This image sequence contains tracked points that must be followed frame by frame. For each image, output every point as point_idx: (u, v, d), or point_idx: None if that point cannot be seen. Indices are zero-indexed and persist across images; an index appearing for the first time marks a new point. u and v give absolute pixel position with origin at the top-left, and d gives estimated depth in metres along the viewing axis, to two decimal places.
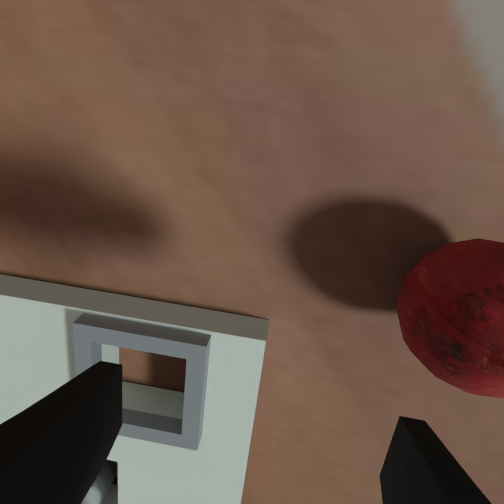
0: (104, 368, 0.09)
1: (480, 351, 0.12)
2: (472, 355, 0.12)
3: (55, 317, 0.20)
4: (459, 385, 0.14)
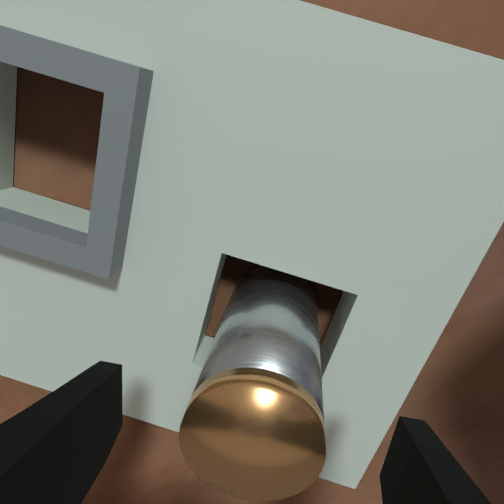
0: (104, 368, 0.09)
1: None
2: None
3: None
4: None
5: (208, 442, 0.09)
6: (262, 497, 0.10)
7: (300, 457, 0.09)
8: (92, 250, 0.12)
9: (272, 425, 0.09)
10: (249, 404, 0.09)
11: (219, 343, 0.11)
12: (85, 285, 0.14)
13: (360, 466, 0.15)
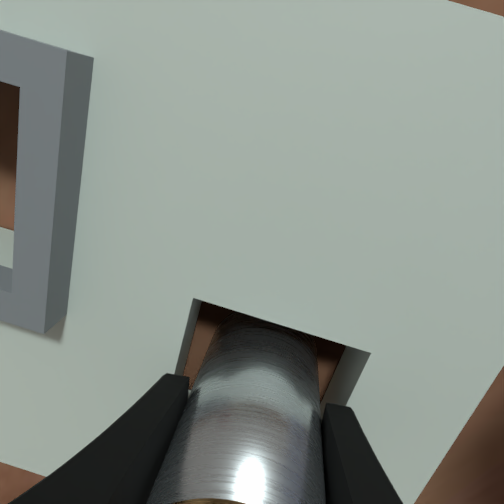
0: (174, 381, 0.09)
1: None
2: None
3: None
4: None
5: None
6: None
7: None
8: (20, 297, 0.09)
9: None
10: None
11: (182, 436, 0.08)
12: (21, 335, 0.11)
13: None
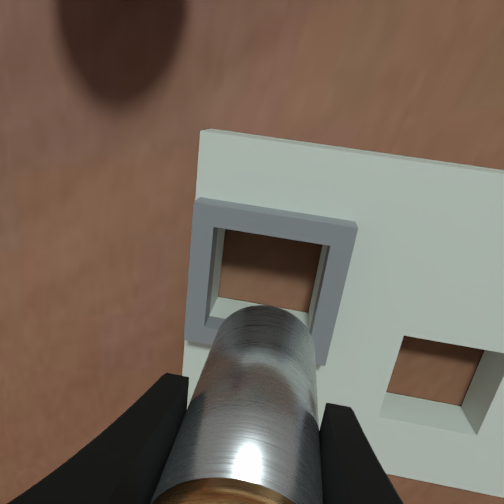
0: (173, 381, 0.09)
1: None
2: None
3: (198, 356, 0.19)
4: None
5: None
6: None
7: None
8: None
9: None
10: None
11: (184, 429, 0.08)
12: None
13: None
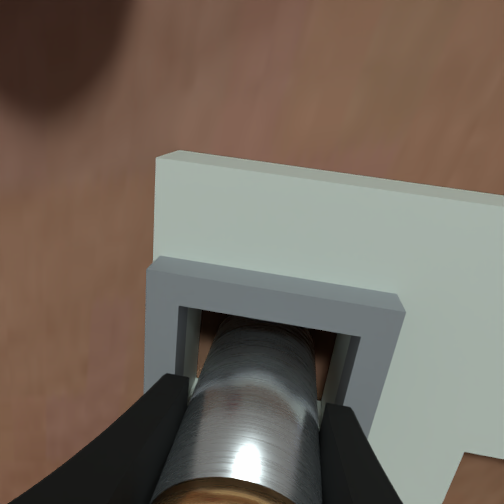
0: (174, 381, 0.09)
1: None
2: None
3: None
4: None
5: None
6: None
7: None
8: None
9: None
10: None
11: (184, 429, 0.08)
12: None
13: None
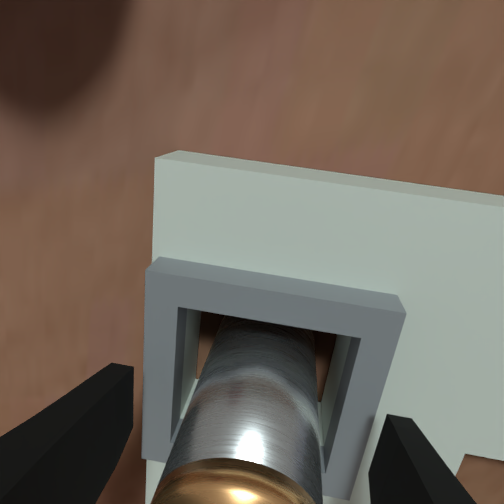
0: (116, 370, 0.09)
1: None
2: None
3: None
4: None
5: None
6: None
7: None
8: (332, 476, 0.11)
9: None
10: None
11: (189, 415, 0.09)
12: None
13: None
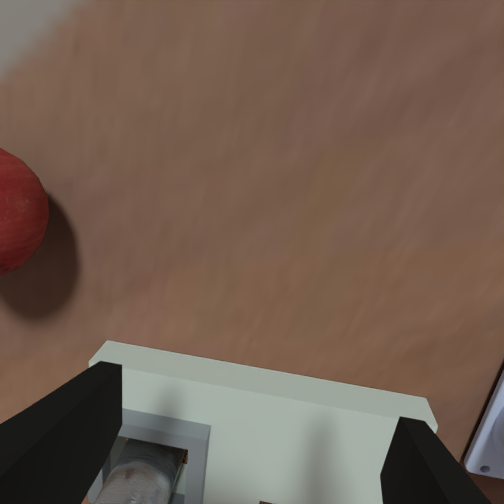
0: (104, 368, 0.09)
1: None
2: None
3: None
4: None
5: None
6: None
7: None
8: None
9: None
10: None
11: (101, 490, 0.19)
12: None
13: None
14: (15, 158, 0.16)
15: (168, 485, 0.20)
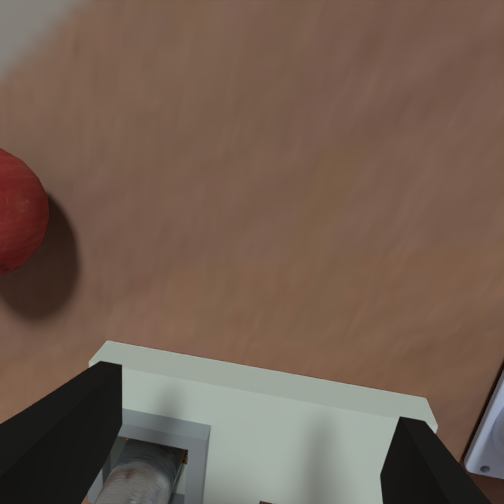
0: (104, 368, 0.09)
1: None
2: None
3: None
4: None
5: None
6: None
7: None
8: None
9: None
10: None
11: (101, 490, 0.19)
12: None
13: None
14: (15, 158, 0.16)
15: (168, 485, 0.20)
